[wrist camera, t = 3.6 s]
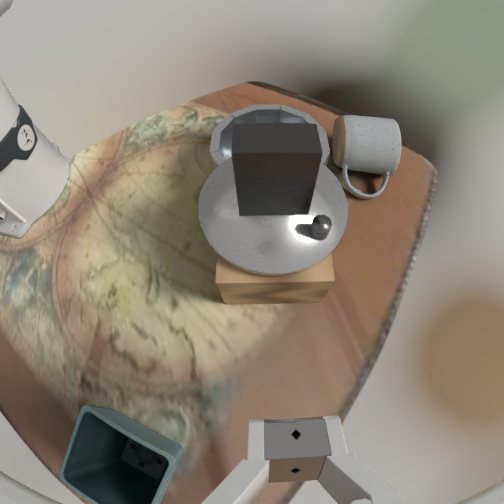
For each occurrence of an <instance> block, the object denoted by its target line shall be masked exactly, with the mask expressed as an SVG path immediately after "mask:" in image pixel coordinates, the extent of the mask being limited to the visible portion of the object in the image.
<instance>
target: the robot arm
mask: <svg viewBox="0 0 504 504" xmlns="http://www.w3.org/2000/svg"><path fill="white" fill-rule="evenodd" d="M12 2H13V0H0V17H1V16H2V15H3V14H4V13H5V12H6V11H7V10H8V9H9V8H10V6H11V4H12ZM69 169H70V167H69V162H68V160H67V158H66V157H65V156H64V155H62V154H61V153H60V151H59V147H58V146H57V145H56V144H55V143H51V142H50V141H49V140H48V139H47V138H46V136H45V135H44V134H43V133H42V132H41V131H40V129H39V128H38V127H37V126H36V125H35V124H34V123H32V120H31V119H30V117H29V116H28V113H27V111H26V110H25V109H24V108H23V107H22V106H21V105H17V103H16V101H15V100H14V98H13V96H12V95H11V93H10V92H9V90H8V88H7V87H6V85H5V84H4V82H3V80H2V78H1V77H0V234H4V235H8V236H11V237H15V238H21V237H22V236H23V235H24V234H25V233H26V231H27V230H28V229H29V227H30V226H31V224H32V223H33V222H34V221H36V220H37V219H38V218H39V217H41V216H42V215H43V214H44V213H45V212H46V211H47V210H48V209H49V208H50V207H51V206H52V205H53V204H54V203H55V201H56V200H57V199H58V197H59V196H60V194H61V192H62V191H63V189H64V187H65V184H66V182H67V179H68V176H69ZM309 480H318V482H319V483H320V484H321V485H322V486H323V488H325V490H326V491H327V492H328V493H329V494H330V495H331V497H332V498H333V499H334V500H335V501H336V502H337V503H338V504H402V503H401V500H400V496H399V492H398V490H397V489H396V488H394V487H393V486H392V485H391V484H389V483H388V482H387V481H386V480H384V479H383V478H382V477H380V476H379V475H378V474H377V473H376V472H374V471H373V470H372V469H371V468H370V467H368V466H367V465H366V464H365V463H364V462H362V461H361V460H360V459H359V458H358V457H356V456H355V455H354V454H353V453H348V452H347V447H346V442H345V438H344V434H343V430H342V426H341V421H340V418H339V416H337V415H336V416H327V417H312V418H298V419H286V420H255V419H249V421H248V436H247V459H245V460H241V461H240V462H239V464H238V465H237V466H236V467H235V468H234V469H233V470H232V471H231V473H230V474H229V475H228V476H227V477H226V478H225V479H224V480H223V481H222V482H221V483H220V485H219V486H218V487H217V488H216V489H215V490H214V491H213V492H212V493H211V494H210V495H209V496H208V497H207V498H206V499H205V500H204V501H203V502H202V503H201V504H254V503H255V502H256V500H257V499H258V498H259V496H260V495H261V494H262V492H263V491H264V489H265V488H266V486H267V485H268V483H274V482H290V481H309ZM0 504H62V503H59V502H57V501H55V500H53V499H51V498H48V497H46V496H44V495H42V494H40V493H38V492H36V491H34V490H32V489H30V488H29V487H27V486H25V485H23V484H21V483H20V482H18V481H16V480H14V479H13V478H11V477H9V476H7V475H6V474H4V473H3V472H1V471H0ZM456 504H504V479H503V480H501V481H499V482H497V483H496V484H494V485H492V486H490V487H488V488H486V489H485V490H483V491H481V492H479V493H477V494H475V495H473V496H471V497H469V498H467V499H464V500H462V501H460V502H458V503H456Z"/></svg>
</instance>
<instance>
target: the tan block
mask: <svg viewBox="0 0 504 504" xmlns="http://www.w3.org/2000/svg"><path fill="white" fill-rule="evenodd" d="M334 281H335V278H334V269H333V259H332V252H331V253H330V254H329V255H328V256H327V257H326V258H325V259H324V260H323V261H321V262H320V263H318V264H317V265H315V266H313V267H311V268H309V269H308V270H305V271H302V272H299V273H296V274H291V275H286V276H263V275H257V274H253V273H249V272H246V271H243V270H241V269H239V268H237V267H234V266H233V265H231V264H230V263H228V262H226V261H225V260H224V259H223V258H221V257H220V256H219V255H218V254H217V261H216V285H217V288H218V290H219V292H220V294H221V296H222V298H223V301H224V303H225V304H279V303H314V302H321V301H322V299H323V298H324V296H325V295H326V293H327V292H328V290H329V289H330V287H331V286H332V284H333V283H334Z"/></svg>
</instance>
